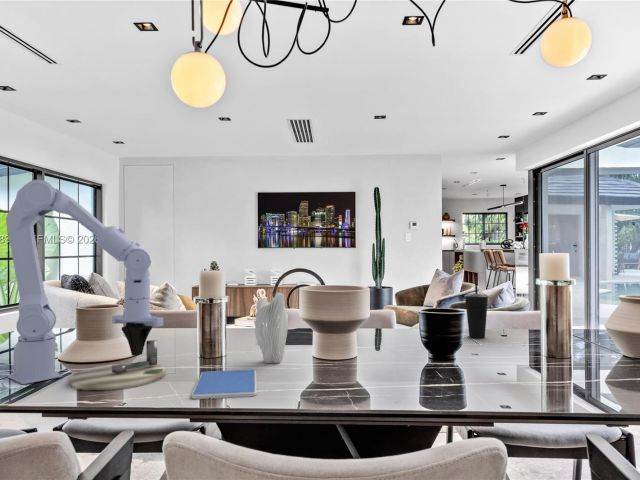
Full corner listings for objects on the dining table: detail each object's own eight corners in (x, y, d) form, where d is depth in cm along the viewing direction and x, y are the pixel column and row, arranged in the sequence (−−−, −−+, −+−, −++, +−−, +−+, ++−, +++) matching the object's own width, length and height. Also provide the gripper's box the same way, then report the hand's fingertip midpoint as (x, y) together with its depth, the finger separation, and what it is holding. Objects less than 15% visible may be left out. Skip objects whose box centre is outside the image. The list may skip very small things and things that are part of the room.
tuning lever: (115, 373, 102) (115, 348, 102) (109, 371, 104) (109, 346, 104) (159, 364, 110) (159, 341, 110) (153, 362, 112) (153, 339, 112)
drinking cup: (491, 336, 153) (490, 275, 154) (486, 340, 147) (485, 276, 148) (468, 334, 157) (467, 275, 158) (462, 338, 151) (461, 276, 152)
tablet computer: (201, 376, 107) (201, 370, 107) (256, 373, 109) (256, 368, 109) (190, 402, 88) (190, 395, 88) (257, 399, 90) (257, 392, 90)
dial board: (53, 379, 103) (53, 374, 103) (138, 363, 118) (138, 358, 118) (93, 396, 90) (93, 391, 90) (183, 375, 105) (183, 370, 105)
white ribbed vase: (257, 358, 122) (256, 290, 123) (288, 358, 123) (288, 290, 123) (253, 366, 114) (253, 293, 115) (287, 365, 114) (287, 292, 115)
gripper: (172, 297, 113) (172, 353, 113) (127, 296, 119) (127, 349, 119) (151, 300, 107) (150, 360, 106) (105, 298, 112) (104, 355, 112)
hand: (137, 354), depth 112 cm, fingers closed
